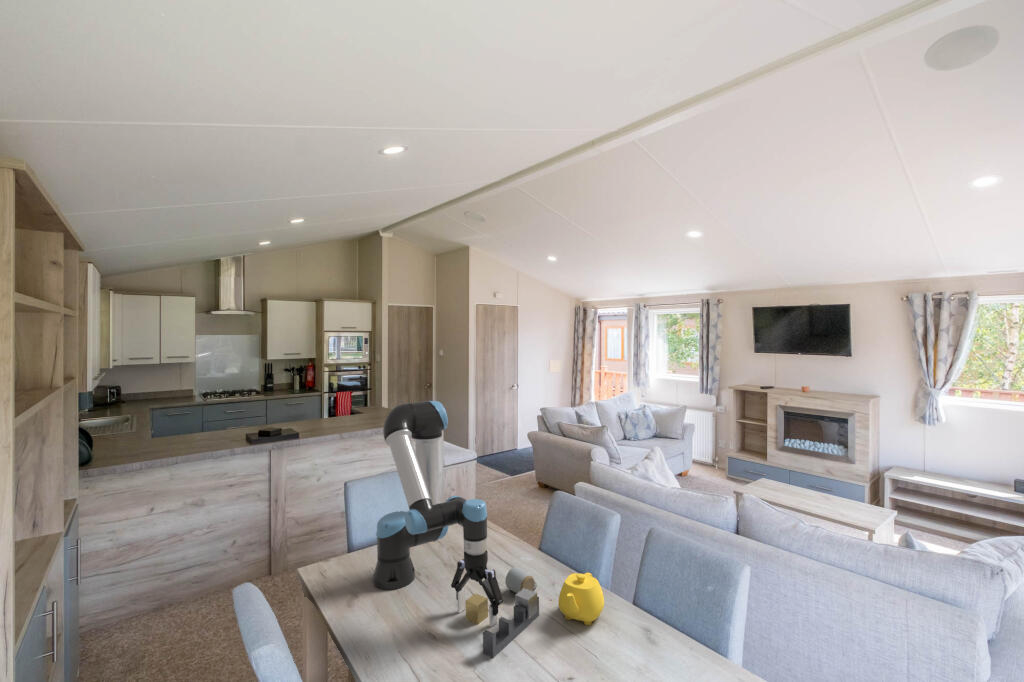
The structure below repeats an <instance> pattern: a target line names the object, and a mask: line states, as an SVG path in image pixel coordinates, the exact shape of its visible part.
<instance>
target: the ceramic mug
mask: <svg viewBox="0 0 1024 682" xmlns="http://www.w3.org/2000/svg"><path fill="white" fill-rule="evenodd" d="M505 585H506V587H507V589H509V590H511V592H513V593H515V594H517V593H518V592H520V591H521V590H522V589H523V588H525V589H528V590H531V591H534V589H535V590H536V589H537V587H538V583H537V582H536V581H535V579H534V577H533V576H532V574H530V573H528V572H526V571H525V570H524V569H522V568H520V567H519V566H513V567H511V568H510V569H509V570H508V572H507V574H506V576H505Z"/></svg>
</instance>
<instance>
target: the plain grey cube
mask: <svg viewBox="0 0 1024 682" xmlns="http://www.w3.org/2000/svg"><path fill="white" fill-rule="evenodd" d="M537 596H538V592H536V591H534V590H533V591H531V590H528V589H525V588H523V589H522V590H521V591H520V592H518V593H515V594H514V600H515V601H514V606H515V605H518V606H521V607H523V608H526V619H530V618H531V617H532V616H533V615H534V614H535V613H537V612H538V609H537Z"/></svg>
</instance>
